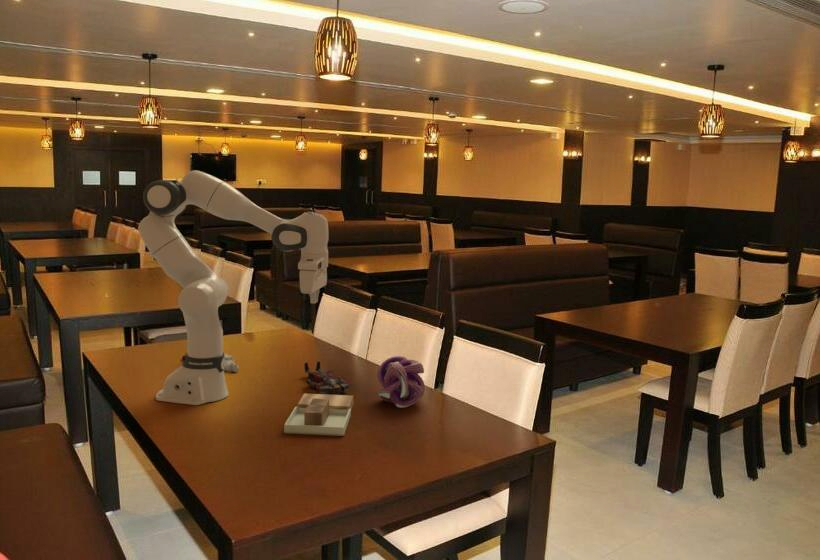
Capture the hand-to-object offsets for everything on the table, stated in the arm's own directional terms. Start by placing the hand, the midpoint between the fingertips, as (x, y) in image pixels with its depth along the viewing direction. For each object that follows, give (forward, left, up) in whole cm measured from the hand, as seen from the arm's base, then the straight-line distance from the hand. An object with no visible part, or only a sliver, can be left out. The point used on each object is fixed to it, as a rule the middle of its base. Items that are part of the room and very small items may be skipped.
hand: (314, 302), depth 207 cm
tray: (+7, -28, -31) cm, 42 cm away
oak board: (+7, -15, -31) cm, 35 cm away
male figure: (-42, +26, -32) cm, 59 cm away
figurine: (+3, +6, -32) cm, 32 cm away
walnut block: (+7, -21, -28) cm, 36 cm away
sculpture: (+30, -5, -31) cm, 44 cm away
